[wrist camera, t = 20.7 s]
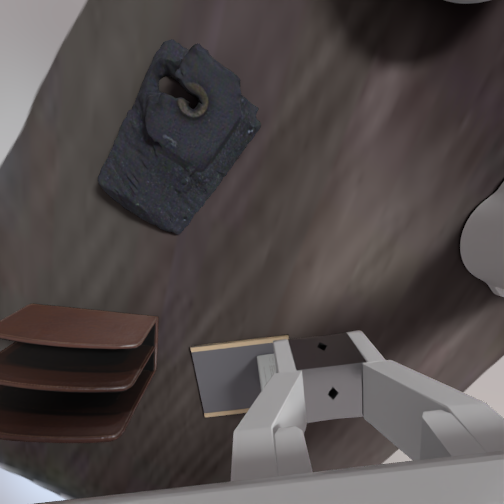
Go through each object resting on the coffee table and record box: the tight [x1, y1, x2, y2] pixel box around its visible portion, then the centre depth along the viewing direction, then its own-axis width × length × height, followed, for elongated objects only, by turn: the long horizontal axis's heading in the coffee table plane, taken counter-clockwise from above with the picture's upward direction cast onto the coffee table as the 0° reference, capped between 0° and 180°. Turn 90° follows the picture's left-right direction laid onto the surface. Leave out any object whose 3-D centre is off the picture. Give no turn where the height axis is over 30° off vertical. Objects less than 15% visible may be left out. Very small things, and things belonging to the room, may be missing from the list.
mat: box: [190, 335, 289, 417], centre depth 43 cm, size 16×14×1 cm
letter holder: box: [0, 304, 158, 443], centre depth 34 cm, size 10×20×14 cm, turn 83°
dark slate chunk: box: [98, 40, 261, 234], centre depth 32 cm, size 15×22×5 cm
